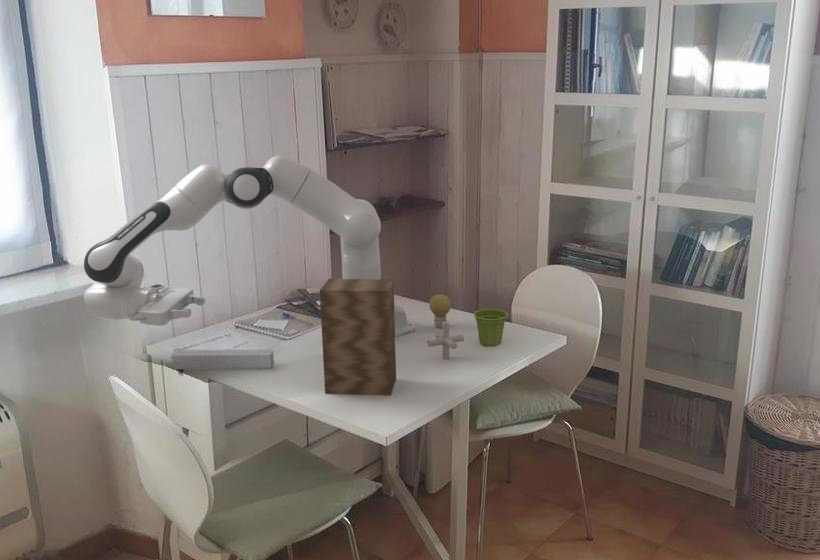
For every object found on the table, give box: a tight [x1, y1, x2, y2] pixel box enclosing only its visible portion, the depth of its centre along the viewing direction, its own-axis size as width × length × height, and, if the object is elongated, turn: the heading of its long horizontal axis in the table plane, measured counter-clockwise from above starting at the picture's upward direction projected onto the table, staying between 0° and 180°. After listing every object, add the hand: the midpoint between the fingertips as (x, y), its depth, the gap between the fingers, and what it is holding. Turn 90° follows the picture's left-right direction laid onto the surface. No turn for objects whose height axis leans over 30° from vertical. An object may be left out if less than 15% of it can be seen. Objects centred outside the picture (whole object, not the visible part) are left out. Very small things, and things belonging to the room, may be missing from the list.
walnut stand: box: [319, 278, 397, 396], centre depth 188 cm, size 16×10×26 cm, turn 84°
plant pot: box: [473, 308, 509, 347], centre depth 218 cm, size 9×9×9 cm
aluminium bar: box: [171, 349, 275, 370], centre depth 205 cm, size 26×4×4 cm, turn 88°
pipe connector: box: [427, 321, 465, 360], centre depth 207 cm, size 10×10×10 cm
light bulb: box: [429, 293, 452, 329], centre depth 232 cm, size 6×6×10 cm
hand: (197, 307), depth 202 cm, fingers open, 8 cm apart
